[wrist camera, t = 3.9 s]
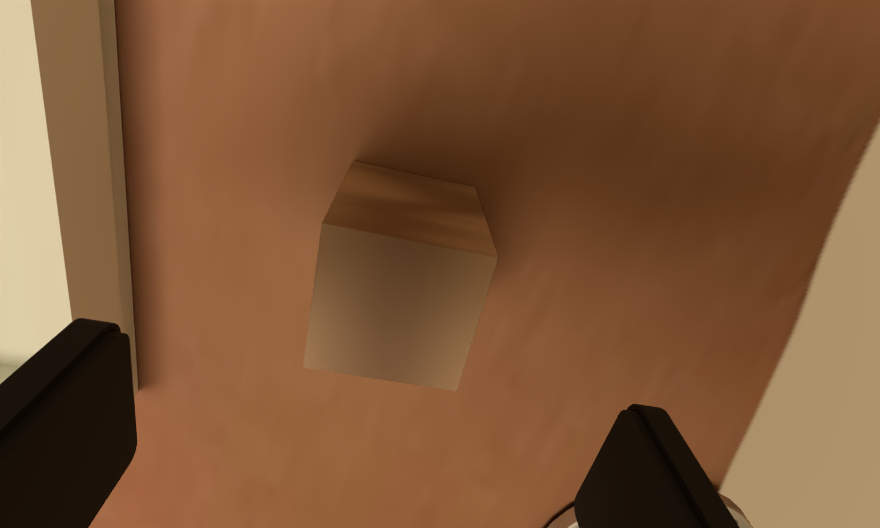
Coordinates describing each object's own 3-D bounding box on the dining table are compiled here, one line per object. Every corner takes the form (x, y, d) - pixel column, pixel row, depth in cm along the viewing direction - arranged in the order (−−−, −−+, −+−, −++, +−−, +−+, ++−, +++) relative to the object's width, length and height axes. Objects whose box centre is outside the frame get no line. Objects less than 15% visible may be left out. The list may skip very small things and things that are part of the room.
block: (475, 186, 18) (498, 257, 12) (447, 290, 20) (456, 391, 14) (353, 160, 17) (321, 223, 12) (336, 270, 19) (303, 367, 14)
